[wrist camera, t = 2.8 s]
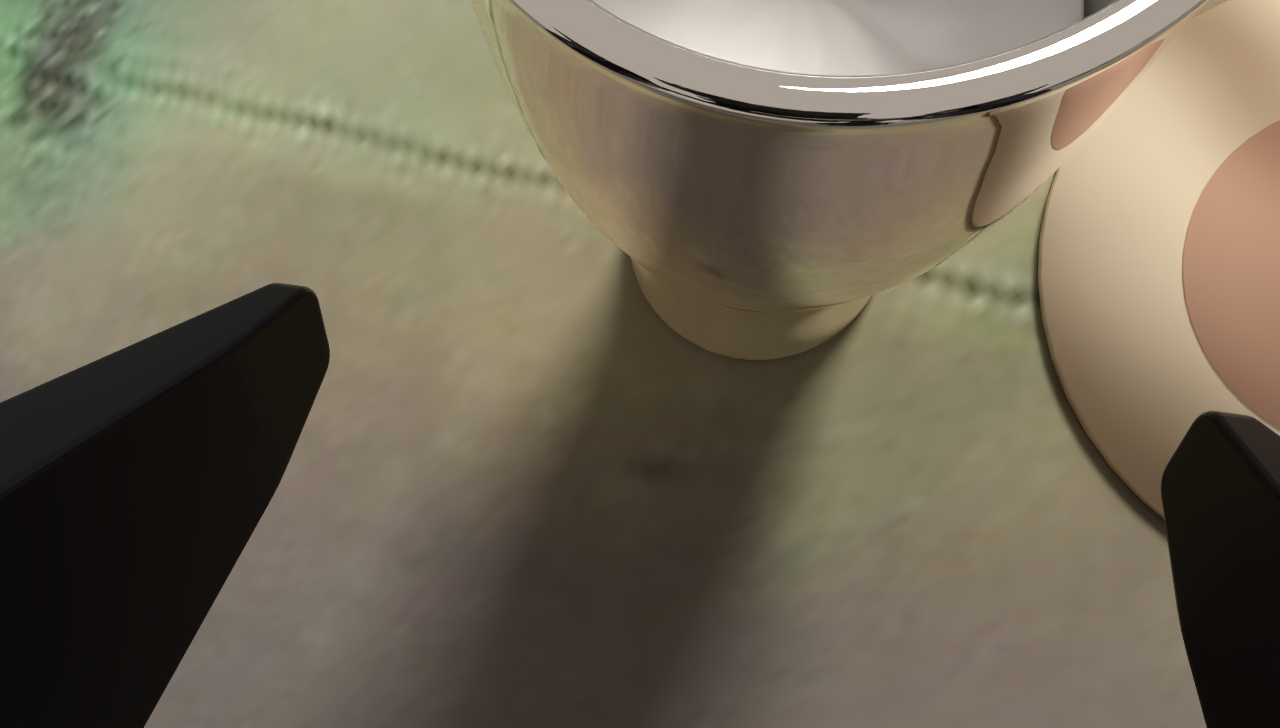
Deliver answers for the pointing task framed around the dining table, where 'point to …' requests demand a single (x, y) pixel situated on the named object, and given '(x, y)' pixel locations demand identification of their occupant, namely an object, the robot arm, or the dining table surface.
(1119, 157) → the coaster
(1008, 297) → the dining table surface
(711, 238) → the silver tall cup
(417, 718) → the dining table surface
